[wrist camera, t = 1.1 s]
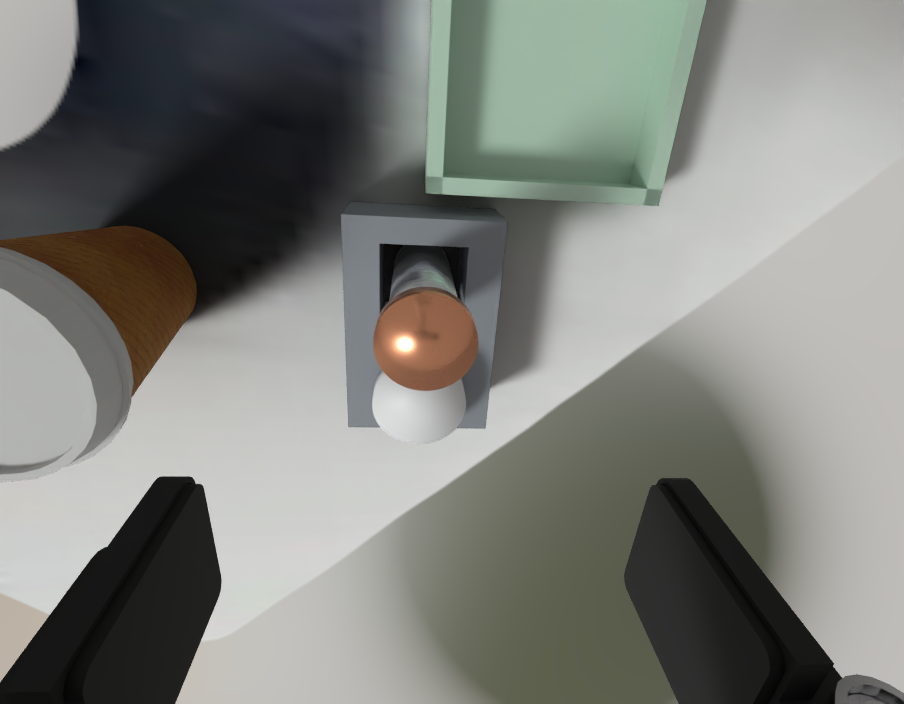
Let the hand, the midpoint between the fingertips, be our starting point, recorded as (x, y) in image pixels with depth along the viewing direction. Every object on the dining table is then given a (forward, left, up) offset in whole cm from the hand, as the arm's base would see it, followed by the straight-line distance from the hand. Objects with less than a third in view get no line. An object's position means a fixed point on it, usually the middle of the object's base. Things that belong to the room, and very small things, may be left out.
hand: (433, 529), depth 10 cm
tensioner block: (+2, 0, -20) cm, 20 cm away
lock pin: (0, 0, -20) cm, 20 cm away
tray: (-12, +6, -20) cm, 24 cm away
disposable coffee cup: (+1, -16, -20) cm, 26 cm away
